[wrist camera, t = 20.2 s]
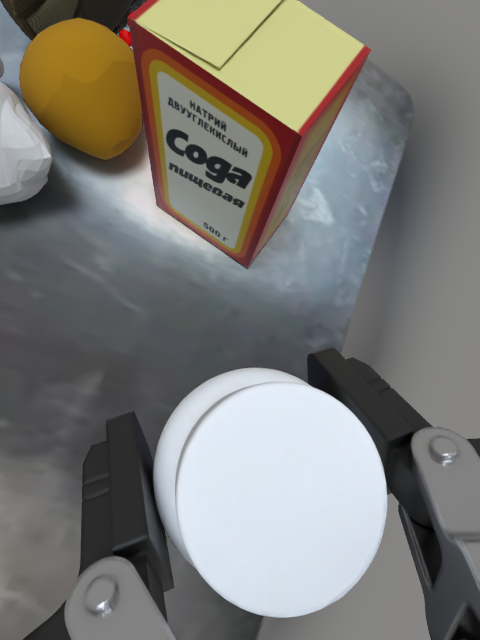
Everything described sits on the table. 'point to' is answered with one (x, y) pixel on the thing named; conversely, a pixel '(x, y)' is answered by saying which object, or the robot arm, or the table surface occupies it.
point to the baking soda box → (237, 109)
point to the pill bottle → (270, 491)
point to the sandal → (64, 12)
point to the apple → (83, 87)
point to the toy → (20, 150)
